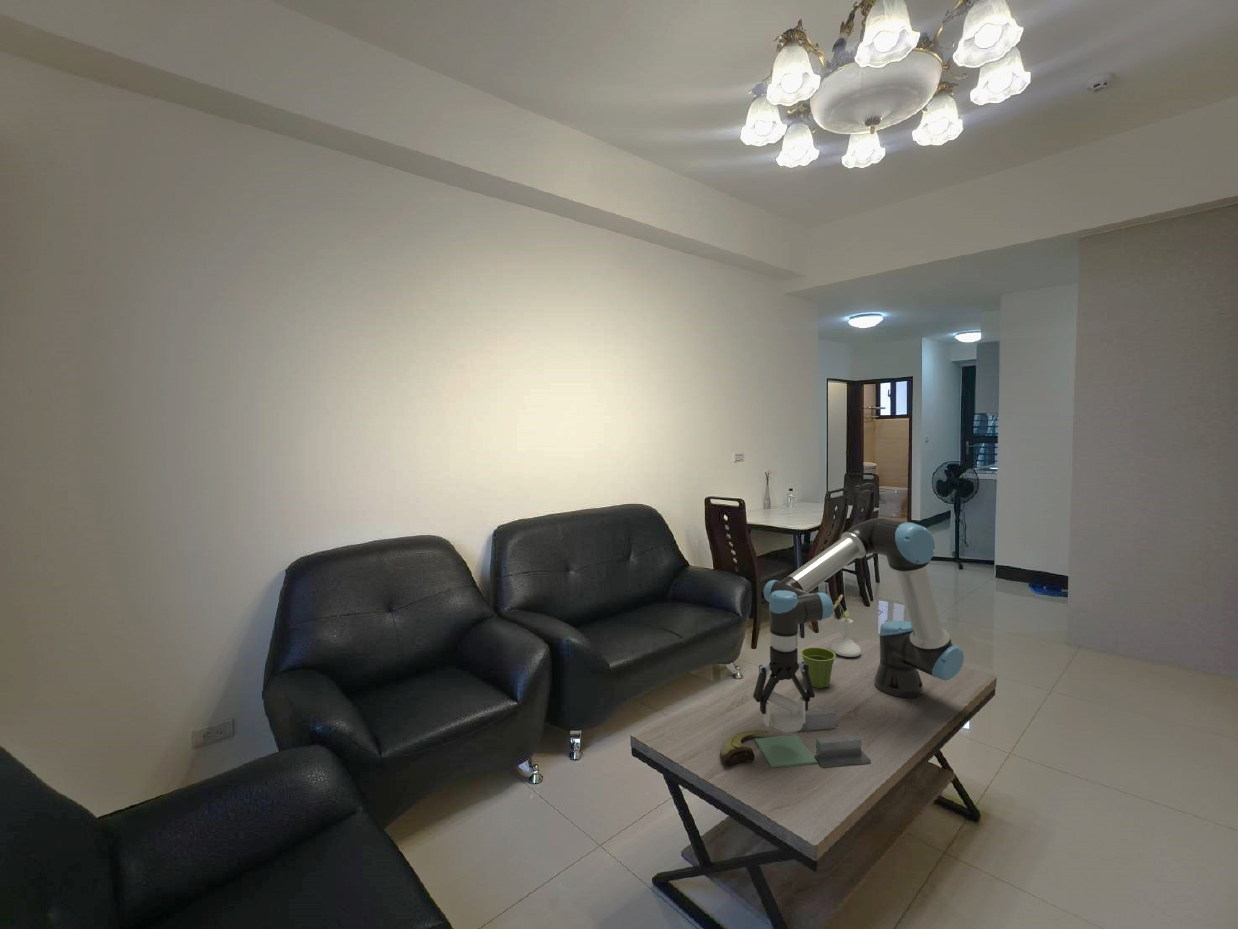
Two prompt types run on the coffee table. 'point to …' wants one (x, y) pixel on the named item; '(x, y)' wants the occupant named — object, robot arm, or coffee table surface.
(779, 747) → the felt pad
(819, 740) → the vise
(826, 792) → the coffee table surface
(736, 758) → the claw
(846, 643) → the flower in vase
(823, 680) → the plant pot
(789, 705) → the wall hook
